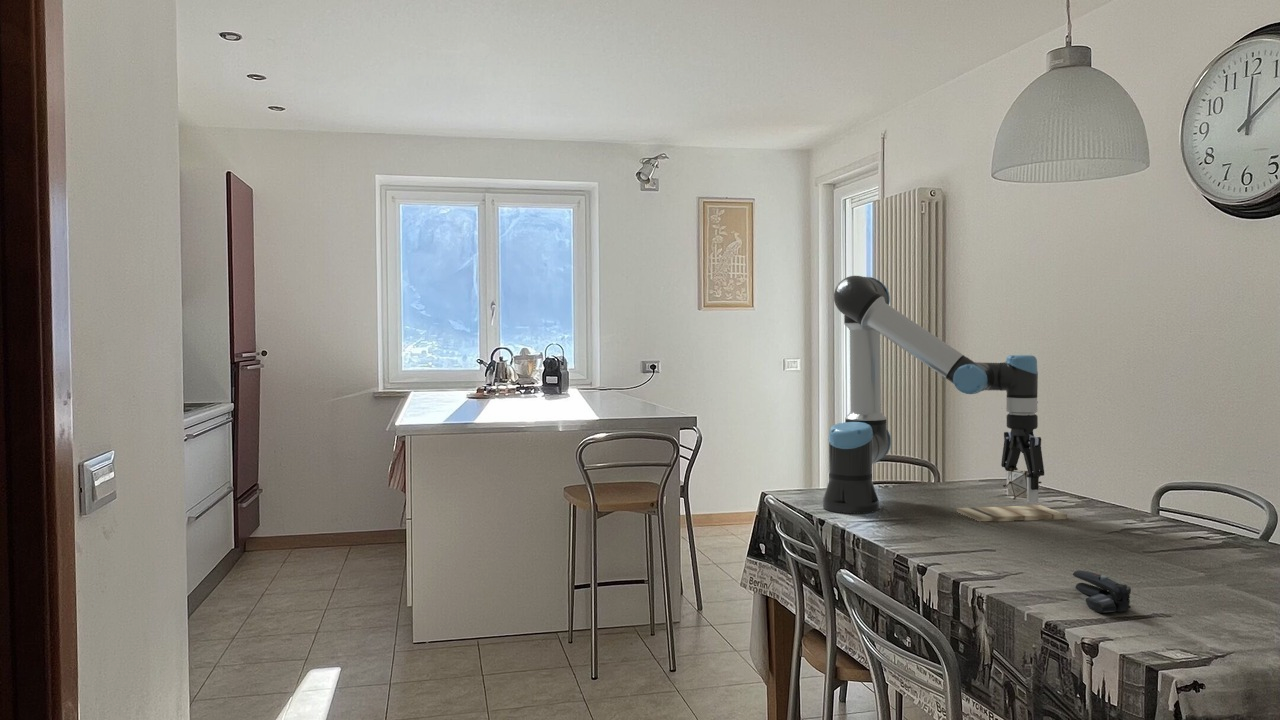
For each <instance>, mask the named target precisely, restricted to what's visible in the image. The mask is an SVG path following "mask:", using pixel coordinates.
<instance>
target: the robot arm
mask: <svg viewBox="0 0 1280 720" xmlns="http://www.w3.org/2000/svg"><path fill="white" fill-rule="evenodd" d="M833 301H834V304H835V307H836V308H837V310H838V311H839V312H840V313H841V314H843V315H844V316H843V318H844V319H843V321H844V323H843V324H844V326H845V327H846V328H848V330H849V377H850V378H849V380H850V381H849V387H850V391H849V392H850V394H849V395H850V399H849V401H850V402H849V403H850V405H849V406H850V411H849V413H848V414H847V415H846V416H845V422H840V423H837V424H834V425H832V426H831V427H830V429H829V436H828V456H829V457H828V459H829V460H828V463H829V464H828V465H829V466H828V467H829V468H828V471H829V472H828V473H829V475H828V476H829V477H828V483H827V486H826V488H825V491H824V495H823V498H822V499H823V500H822V507H823V509H824V510H827V511H830V512H834V513H840V512H841V513H842V512H843V513H842V514H869V513H875V512H877V511H879V510H880V502H879V497H878V494H877V492H876V488H875V486H874V483H873V464H877V463H879V462H880V461H882V460H883V459H884V458H885V457H886V456H887V455H888V453H889V451H890V449H891V446H892V439H891V435H890V434H891V433H890V431H889V430H888V429H887V428H888V427H887V417H886V416H885V415H884V414H883V413H882V394H881V393H882V387H881V384H882V383H881V382H882V381H881V380H882V375H881V373H882V372H881V371H882V370H881V369H882V368H881V335H882V337H883V336H884V337H885V338H886V339H887V340H889V341H891V342H892V343H894V344H895V345H896V346H898V347H899V348H900V349H902V350H904V351H905V352H906V353H908V354H910V355H911V356H912V357H914V358H916V359H917V360H918V361H920V362H922V363H923V364H924V365H926V366H927V367H929V368H930V369H931V370H933V371H935V372H936V373H938V374H939V375H940V376H942V377H944V378H945V379H946V380H947V381H949V382H950V383H952V384H953V385H954V387H955V388H956V390H957V391H959V392H960V393H962V394H966V395H976V394H979V393H981V392H985V391H1002V392H1003V391H1006V406H1005V407H1006V412H1007V413H1008V414H1007V415H1006V427H1007V429H1010V431H1004V432H1003V448H1002V455H1001V464H1000V466H1001V468H1004V470H1005V472H1006V482H1007V481H1008V479H1009V476H1010V474H1011V471H1010V469H1012V471H1019V468H1018V467H1017V465H1018V463H1019V459H1020V456H1021V453H1022V454H1023V458H1024V461H1025V465H1026V469H1027V470H1026V471H1028V474H1029V475H1027V498H1026V502H1027V503H1039V486H1040V485H1039V482H1040V481H1039V479H1040V477H1041V476H1042V477H1043V476H1045V467H1044V461H1043V459H1044V458H1043V453H1042V438H1041V437H1040V436H1038V437H1036V436H1035V435H1034V430H1036V429H1038V425H1039V423H1038V415H1037V414H1036V413H1038V404H1039V401H1038V387H1039V385H1038V384H1039V381H1038V379H1039V378H1038V377H1039V376H1038V375H1039V372H1038V360H1037V358H1036V356H1034V355H1030V354H1029V355H1028V354H1026V355H1025V354H1024V355H1023V354H1019V355H1018V354H1017V355H1016V354H1015V355H1014V354H1013V355H1011V354H1010V355H1007V356H1006V360H1005V362H980V361H979V362H976V361H973V360H972V359H970V358H969V357H967V356H966V355H964V354H963V353H961V352H960V351H958V350H957V349H955V348H954V347H952V346H951V345H949V344H947V343H946V342H945V341H943V340H942V339H940V338H939V337H937V336H936V335H934V334H933V333H931V331H930V332H929V331H928V330H927V329H926V328H924V327H922V326H921V325H919V324H917V323H916V322H915V321H913V320H911V318H909V317H908V316H906V315H904V314H903V313H901V312H900V311H898V310H897V309H895V308H894V307H893V306H891V305H890V301H891V299H890V292H889V289H888V288H887V287H886V285H885V284H884V283H883V282H882V281H880V280H879V279H876V278H874V277H871V276H862V275H849V276H847V277H845V278H843V279H842V280H840V282H838V284H837V285H836V287H835V288H834V293H833ZM1006 496H1013V494H1012V493H1011V492H1010V491H1009V489H1008V488H1007V487H1006Z"/></svg>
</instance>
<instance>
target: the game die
mask: <svg viewBox="0 0 1280 720" xmlns="http://www.w3.org/2000/svg"><path fill="white" fill-rule="evenodd" d="M1010 471H1011V474H1010V476H1009V479H1008V481H1007V480H1006V484H1003V485H1002V487H1004V488H1006V489H1007V488H1008V489H1009V491H1010V492H1011V493H1012V494H1013V495H1012V496H1013V501H1014V500H1017V498H1021V499H1022V498H1023V499H1025V498H1026V499H1027V475H1029V474H1028V470H1014V471H1012V469H1010ZM1042 483H1043V482H1042V481H1039V484H1042Z"/></svg>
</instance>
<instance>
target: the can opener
mask: <svg viewBox="0 0 1280 720" xmlns="http://www.w3.org/2000/svg"><path fill="white" fill-rule="evenodd" d="M1072 576H1073V577H1075V578H1077V579H1079V580H1082V581H1084V582H1085V583H1084V582H1078V583H1077V584H1076V585H1075V589H1076V590H1077V591H1079V592H1080V593H1081V594H1084V595H1087V596H1089V597H1086V598H1085V603H1086V604H1085V605H1087V606H1088V608H1089V609H1090V610H1092V611H1094V612H1095V613H1100V614H1101V613H1102V614H1103V613H1104V614H1105V613H1121V612H1125V611H1128V610H1130V609H1131V608H1132V605H1130V602H1131V601H1130V599H1131V596H1130V595H1131V592H1132V587H1131V585H1129V584H1126V583H1125V584H1124V583H1123V584H1122V583H1118V582H1117V581H1115V580H1114V579H1113V580H1112V579H1111V578H1109V577H1108V576H1107V575H1105V574H1100V573H1099V574H1098V573H1095V572H1092V571H1087V570H1075V571H1074V572H1073V573H1072Z"/></svg>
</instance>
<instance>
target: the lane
mask: <svg viewBox="0 0 1280 720" xmlns="http://www.w3.org/2000/svg"><path fill="white" fill-rule="evenodd" d="M957 512H958V513H957ZM956 513H957V514H959V513H961V514H960V515H962V514H963V515H962V516H964V515H966V516H968V517H967V518H969V517H970V518H969V519H971V518H973V519H975V520H974V521H976V520H977V522H978V521H998V522H1015V521H1014V520H1024V521H1039V520H1038V519H1051V520H1068V513H1064V512H1061V511H1059V510H1056V509H1053V508H1050V507H1047V506H1044V505H1040V504H1035V505H1012V506H1011V505H1010V506H1009V505H1008V506H984V507H983V506H982V507H981V506H980V507H979V506H978V507H956ZM966 516H965V517H966ZM973 519H972V520H973Z"/></svg>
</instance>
